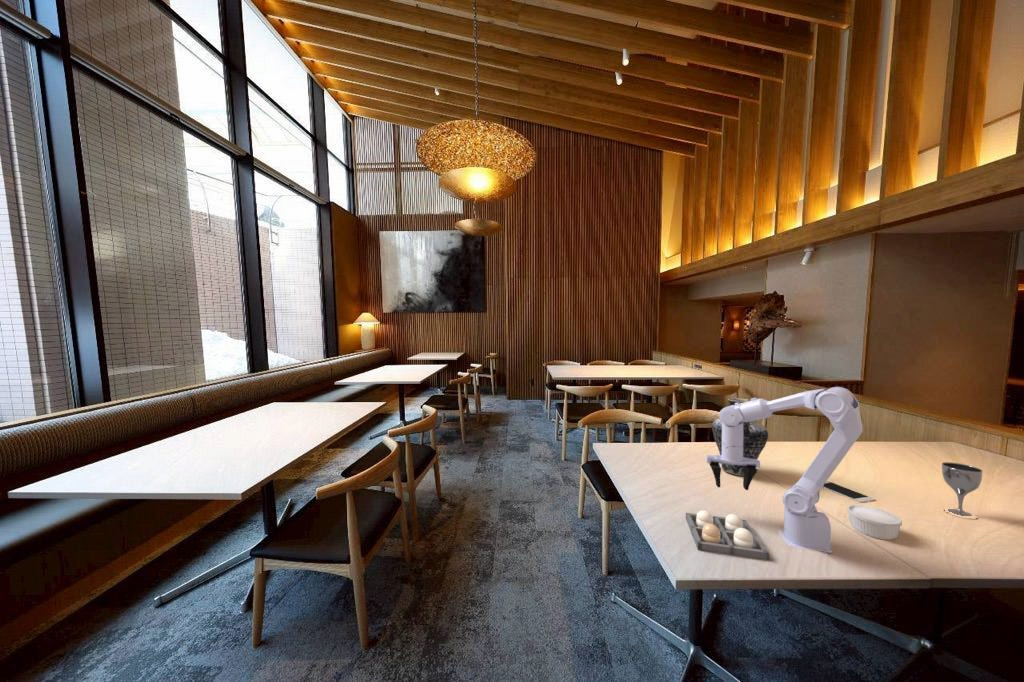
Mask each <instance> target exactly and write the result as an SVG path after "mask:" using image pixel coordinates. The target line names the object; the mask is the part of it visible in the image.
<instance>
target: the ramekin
mask: <svg viewBox="0 0 1024 682" xmlns="http://www.w3.org/2000/svg"><path fill="white" fill-rule="evenodd" d="M846 511H847V513H848V519H849V523H850V525H851V526H852V528H853V529H854V530H855V531H857V532H859V533H860V534H864V535H865V536H869V537H871V538H875V539H880V540H886V541H891V540H895V539H897V538H898V536H899V534H900V533H899V532H900V529H901V526H902V525H903V520H902V519H901V517H898V516H897V514H896V515H895V513H892V512H889V511H886V510H884V509H881V508H878V507H874V506H869V505H863V504H851V505H848V506H847V507H846Z"/></svg>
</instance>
